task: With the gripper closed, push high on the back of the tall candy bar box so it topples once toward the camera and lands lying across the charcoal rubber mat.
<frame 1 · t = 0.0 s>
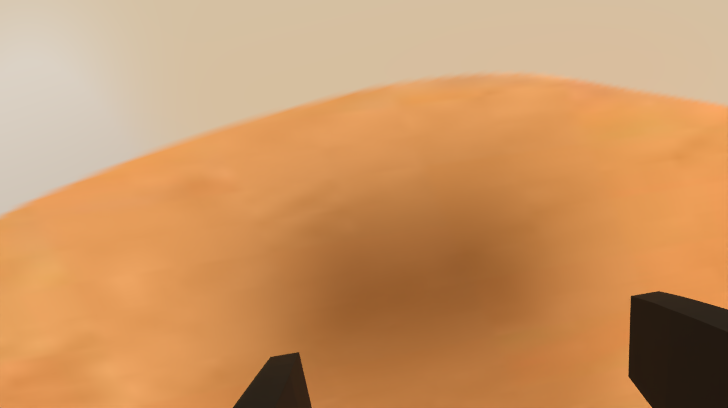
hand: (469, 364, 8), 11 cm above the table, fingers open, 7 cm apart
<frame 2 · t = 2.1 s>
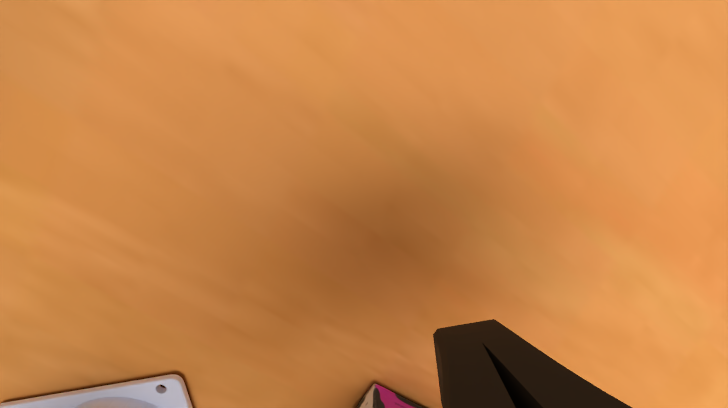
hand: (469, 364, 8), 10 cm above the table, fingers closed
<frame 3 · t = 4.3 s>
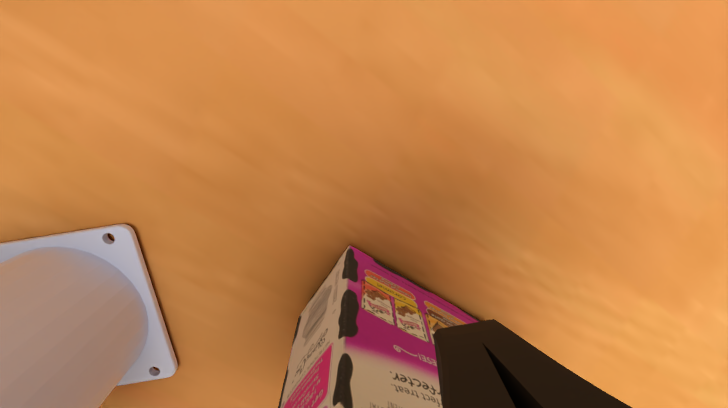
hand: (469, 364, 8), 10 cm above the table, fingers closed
candy bar box: (414, 329, 20), on the table, touching gripper
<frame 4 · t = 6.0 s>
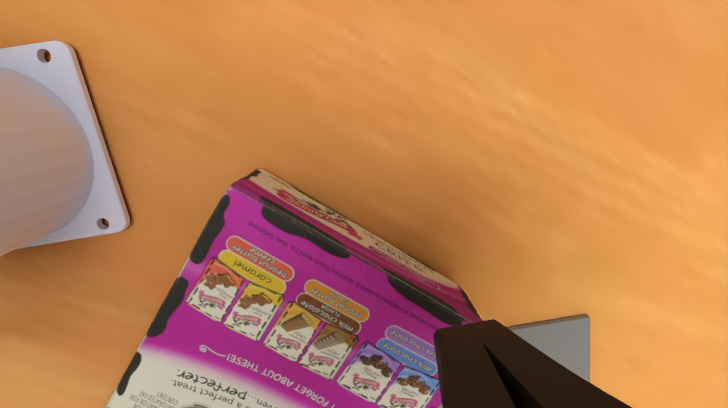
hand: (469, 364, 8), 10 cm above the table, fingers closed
candy bar box: (371, 236, 16), point 2 cm above the table, touching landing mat
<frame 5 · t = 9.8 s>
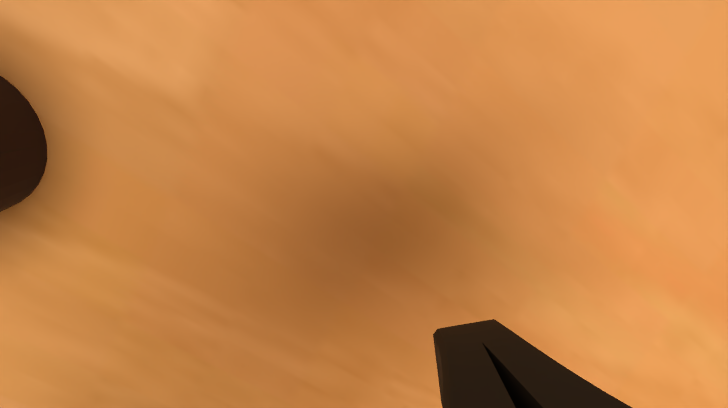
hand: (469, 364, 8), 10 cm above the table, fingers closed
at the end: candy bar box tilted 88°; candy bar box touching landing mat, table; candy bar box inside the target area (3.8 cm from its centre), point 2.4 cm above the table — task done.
